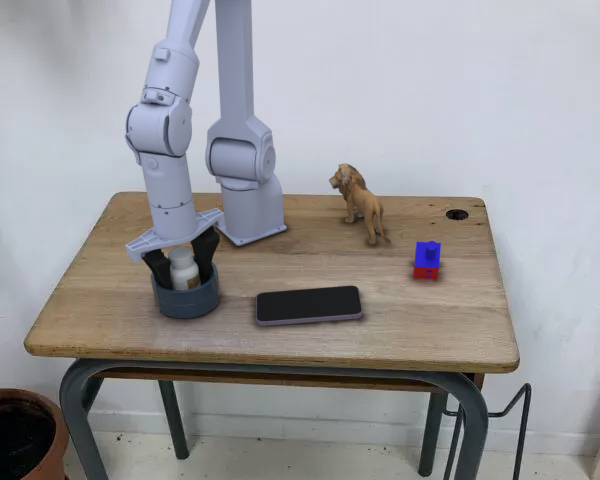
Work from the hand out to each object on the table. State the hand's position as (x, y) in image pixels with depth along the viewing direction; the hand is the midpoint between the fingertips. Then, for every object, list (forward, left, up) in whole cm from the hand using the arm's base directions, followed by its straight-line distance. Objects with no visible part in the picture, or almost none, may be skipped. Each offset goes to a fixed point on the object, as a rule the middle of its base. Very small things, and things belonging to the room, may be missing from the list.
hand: (186, 285), depth 100 cm
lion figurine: (-33, -3, -3) cm, 33 cm away
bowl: (0, 0, -3) cm, 3 cm away
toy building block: (-33, +14, -3) cm, 36 cm away
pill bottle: (0, 0, -2) cm, 3 cm away
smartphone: (-14, +11, -3) cm, 18 cm away
